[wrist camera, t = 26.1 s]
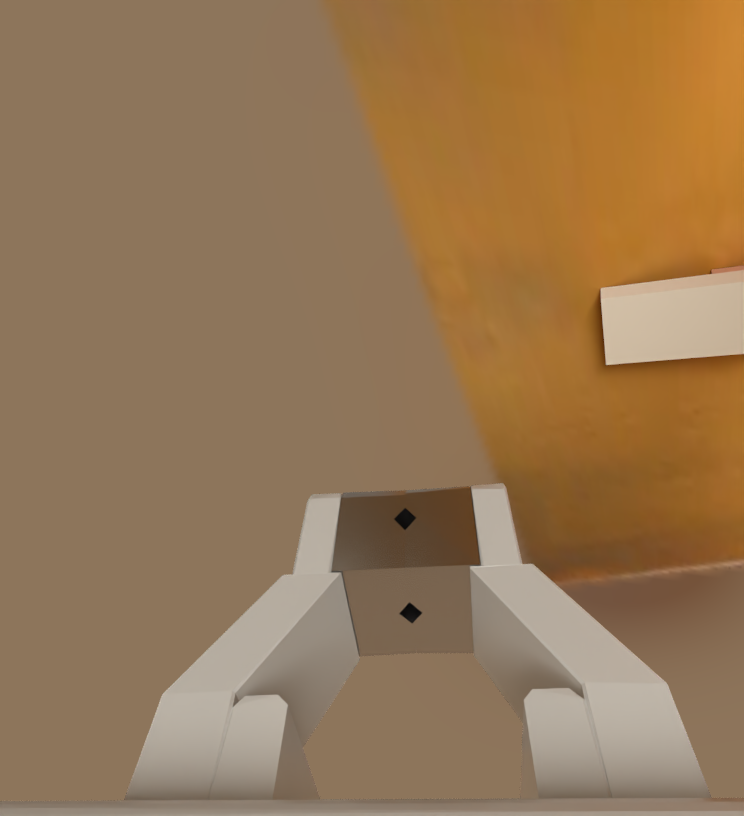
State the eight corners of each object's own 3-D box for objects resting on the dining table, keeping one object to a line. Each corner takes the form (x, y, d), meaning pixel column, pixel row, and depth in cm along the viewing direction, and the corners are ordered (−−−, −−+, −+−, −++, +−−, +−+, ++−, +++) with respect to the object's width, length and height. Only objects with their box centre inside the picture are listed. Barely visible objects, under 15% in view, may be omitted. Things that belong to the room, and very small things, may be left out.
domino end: (600, 288, 40) (779, 265, 36) (605, 352, 42) (773, 338, 38) (600, 299, 38) (786, 276, 34) (606, 364, 41) (778, 351, 37)
